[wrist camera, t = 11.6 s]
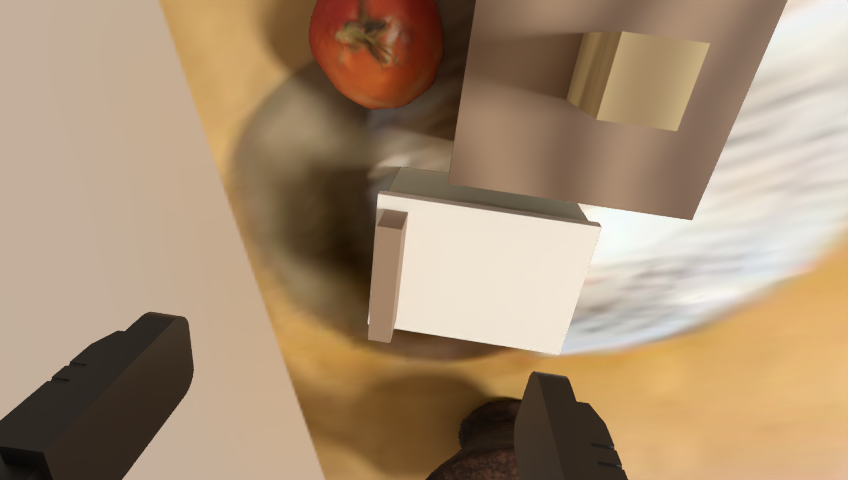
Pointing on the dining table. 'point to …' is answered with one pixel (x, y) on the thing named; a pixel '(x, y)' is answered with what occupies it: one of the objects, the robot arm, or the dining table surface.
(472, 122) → the cover
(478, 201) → the box
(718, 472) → the dining table surface
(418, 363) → the dining table surface
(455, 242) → the lid
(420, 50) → the tomato
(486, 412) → the brown rounded lump
